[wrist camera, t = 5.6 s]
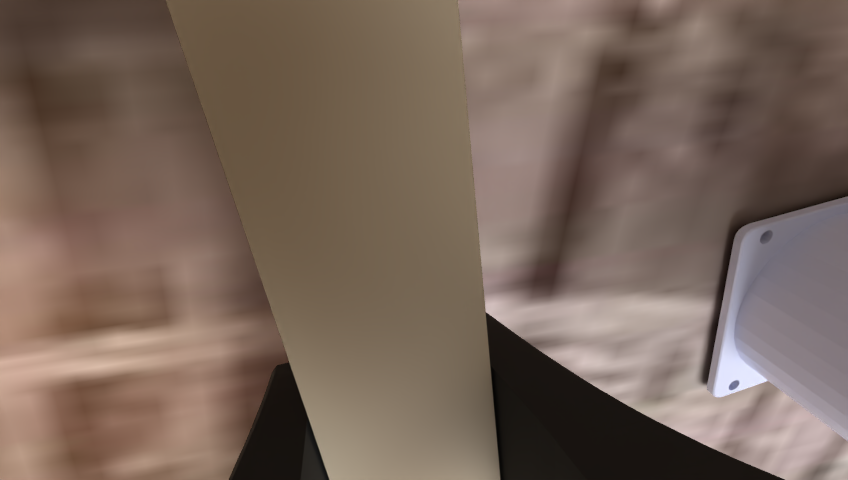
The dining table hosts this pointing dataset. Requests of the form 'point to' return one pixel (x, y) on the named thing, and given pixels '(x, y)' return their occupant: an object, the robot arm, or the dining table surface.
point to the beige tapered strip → (358, 219)
